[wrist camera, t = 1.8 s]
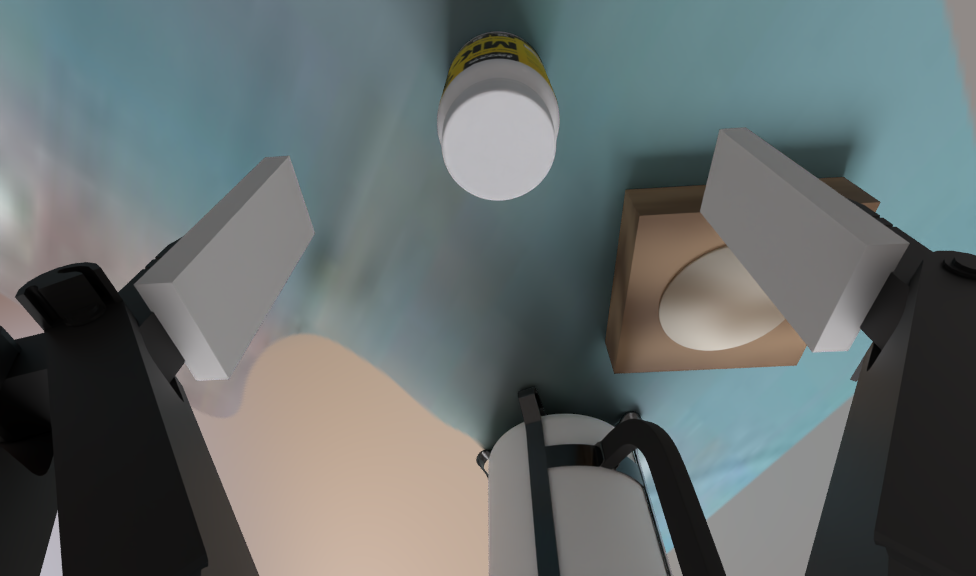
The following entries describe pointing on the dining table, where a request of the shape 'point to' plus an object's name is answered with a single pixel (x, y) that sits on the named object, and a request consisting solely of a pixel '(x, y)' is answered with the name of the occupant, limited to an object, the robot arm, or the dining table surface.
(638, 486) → the coffee press
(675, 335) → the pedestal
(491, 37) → the supplement bottle
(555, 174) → the dining table surface
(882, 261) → the robot arm
